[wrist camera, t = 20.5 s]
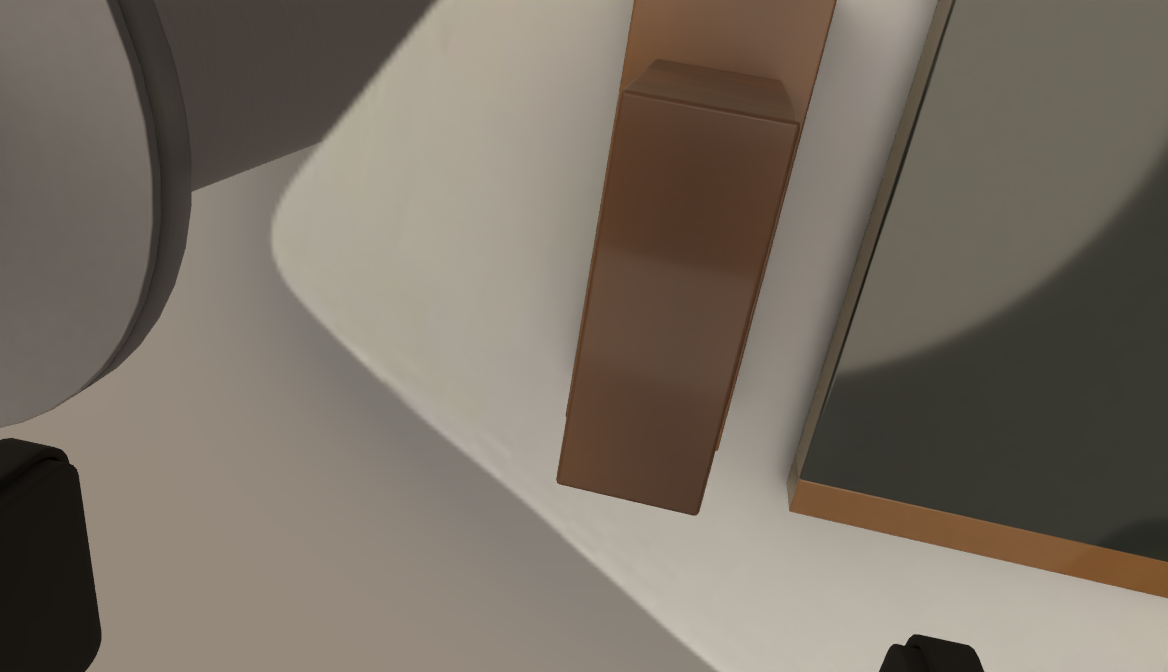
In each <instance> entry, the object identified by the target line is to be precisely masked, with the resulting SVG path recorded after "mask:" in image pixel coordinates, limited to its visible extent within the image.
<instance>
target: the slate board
mask: <svg viewBox="0 0 1168 672" xmlns="http://www.w3.org/2000/svg"><path fill="white" fill-rule="evenodd" d="M787 492H788V503H789V511H790V512H794V513H799V514H803V515H807V516H812V517H816V518H820V519H825V520H829V521H834V522H838V523H842V524H847V525H851V526H855V527H860V528H864V529H868V530H873V531H877V532H881V533H886V534H890V535H895V536H899V537H903V538H908V539H912V540H916V541H921V542H925V543H929V544H934V545H938V546H942V547H947V548H951V549H956V550H960V551H964V552H969V553H973V554H977V555H982V556H986V557H990V558H995V559H999V560H1003V561H1008V562H1012V563H1017V564H1021V565H1025V566H1030V567H1034V568H1038V569H1043V570H1047V571H1051V572H1056V573H1060V574H1065V575H1069V576H1073V577H1078V578H1082V579H1086V580H1091V581H1095V582H1099V583H1104V584H1108V585H1112V586H1117V587H1121V588H1126V589H1130V590H1134V591H1139V592H1143V593H1147V594H1152V595H1156V596H1160V597H1165V598H1168V0H938V3H937V6H936V10H935V13H934V16H933V19H932V22H931V26H930V29H929V32H928V35H927V38H926V41H925V45H924V48H923V51H922V54H921V57H920V61H919V64H918V67H917V70H916V73H915V76H914V80H913V83H912V86H911V89H910V92H909V96H908V99H907V102H906V105H905V108H904V111H903V115H902V118H901V121H900V124H899V127H898V131H897V134H896V137H895V140H894V143H893V147H892V150H891V153H890V156H889V159H888V162H887V166H886V169H885V172H884V175H883V178H882V182H881V185H880V188H879V191H878V194H877V197H876V201H875V204H874V207H873V210H872V213H871V217H870V220H869V223H868V226H867V229H866V232H865V236H864V239H863V242H862V245H861V248H860V252H859V255H858V258H857V261H856V264H855V268H854V271H853V274H852V277H851V280H850V283H849V287H848V290H847V293H846V296H845V299H844V303H843V306H842V309H841V312H840V315H839V318H838V322H837V325H836V328H835V331H834V334H833V338H832V341H831V344H830V347H829V350H828V353H827V357H826V360H825V363H824V366H823V369H822V373H821V376H820V379H819V382H818V385H817V389H816V392H815V395H814V398H813V401H812V404H811V408H810V411H809V414H808V417H807V420H806V424H805V427H804V430H803V433H802V436H801V439H800V443H799V446H798V449H797V452H796V454H795V458H794V461H793V464H792V467H791V470H790V474H789V477H788V480H787Z"/></svg>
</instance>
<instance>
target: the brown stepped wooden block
mask: <svg viewBox="0 0 1168 672" xmlns="http://www.w3.org/2000/svg"><path fill="white" fill-rule="evenodd" d="M836 2H837V0H634V5H633V11H632V17H631V23H630V29H629V35H628V41H627V47H626V53H625V59H624V65H623V71H622V77H621V83H620V89H619V96H618V102H617V108H616V114H615V120H614V126H613V132H612V138H611V144H610V150H609V156H608V162H607V168H606V174H605V180H604V186H603V193H602V199H601V205H600V211H599V217H598V223H597V229H596V235H595V241H594V247H593V253H592V259H591V265H590V271H589V277H588V283H587V289H586V296H585V302H584V308H583V314H582V320H581V326H580V332H579V338H578V344H577V350H576V356H575V362H574V368H573V374H572V380H571V386H570V393H569V399H568V405H567V411H566V417H567V418H566V424H565V430H564V436H563V442H562V448H561V454H560V460H559V466H558V472H557V478H556V479H557V483H558V484H561V485H565V486H569V487H573V488H578V489H582V490H586V491H591V492H595V493H599V494H603V495H608V496H612V497H616V498H621V499H625V500H629V501H633V502H638V503H642V504H646V505H651V506H655V507H659V508H663V509H668V510H672V511H676V512H681V513H685V514H689V515H693V516H695V515H697V514H698V513H699V511H700V507H701V504H702V500H703V496H704V492H705V488H706V485H707V481H708V477H709V473H710V469H711V465H712V462H713V458H714V454H715V451H717V450H718V448H719V444H720V440H721V437H722V433H723V429H724V425H725V421H726V418H727V414H728V410H729V406H730V403H731V399H732V395H733V391H734V387H735V384H736V380H737V376H738V372H739V368H740V365H741V361H742V357H743V353H744V350H745V346H746V342H747V338H748V334H749V331H750V327H751V323H752V319H753V316H754V312H755V308H756V304H757V300H758V297H759V293H760V289H761V285H762V281H763V278H764V274H765V270H766V266H767V263H768V259H769V255H770V251H771V247H772V244H773V240H774V236H775V232H776V229H777V225H778V221H779V217H780V213H781V210H782V206H783V202H784V198H785V194H786V191H787V187H788V183H789V179H790V176H791V172H792V168H793V164H794V160H795V157H796V153H797V149H798V145H799V142H800V138H801V134H802V130H803V126H804V123H805V119H806V115H807V111H808V108H809V104H810V100H811V96H812V92H813V89H814V85H815V81H816V77H817V73H818V70H819V66H820V62H821V58H822V55H823V51H824V47H825V43H826V39H827V36H828V32H829V28H830V24H831V21H832V17H833V13H834V9H835V5H836Z"/></svg>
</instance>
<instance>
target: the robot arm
mask: <svg viewBox="0 0 1168 672" xmlns="http://www.w3.org/2000/svg"><path fill="white" fill-rule="evenodd" d="M100 643H101V626H100V620H99V612H98V606H97V599H96V592H95V585H94V578H93V571H92V564H91V557H90V550H89V543H88V536H87V531H86V523H85V516H84V509H83V502H82V495H81V488H80V482H79V475H78V472H77V469H76V468H75V467H74V466H73V465H71V464H70V463H69V460H68V457H67V455H66V454H65V453H64V452H63V451H62V450H61V449H58V448H55V447H51V446H46V445H42V444H37V443H33V442H28V441H23V440H18V439H14V438H8V439H2V440H0V672H85V671H86V670H87V669H88V667H89V666H90V664H91V663H92V662H93V660H94V658H95V656H96V655H97V652H98V650H99V647H100ZM879 672H984V670H983V667H982V665H981V662H980V660H979V657H978V656H977V654H976V652H975V650H974V649H973V648H972V647H970V646H969V645H965V644H960V643H956V642H951V641H946V640H942V639H937V638H932V637H928V636H923V635H916V634H914V635H913V636H911V637H910V638H909V639H908V641H907V643H906V645H905V646H903V645H899V644H893V645H892V646H891V647H890V648H889V650H888V652H887V654H886V656H885V659H884V661H883V664H882V666H881V668H880V671H879Z"/></svg>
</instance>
